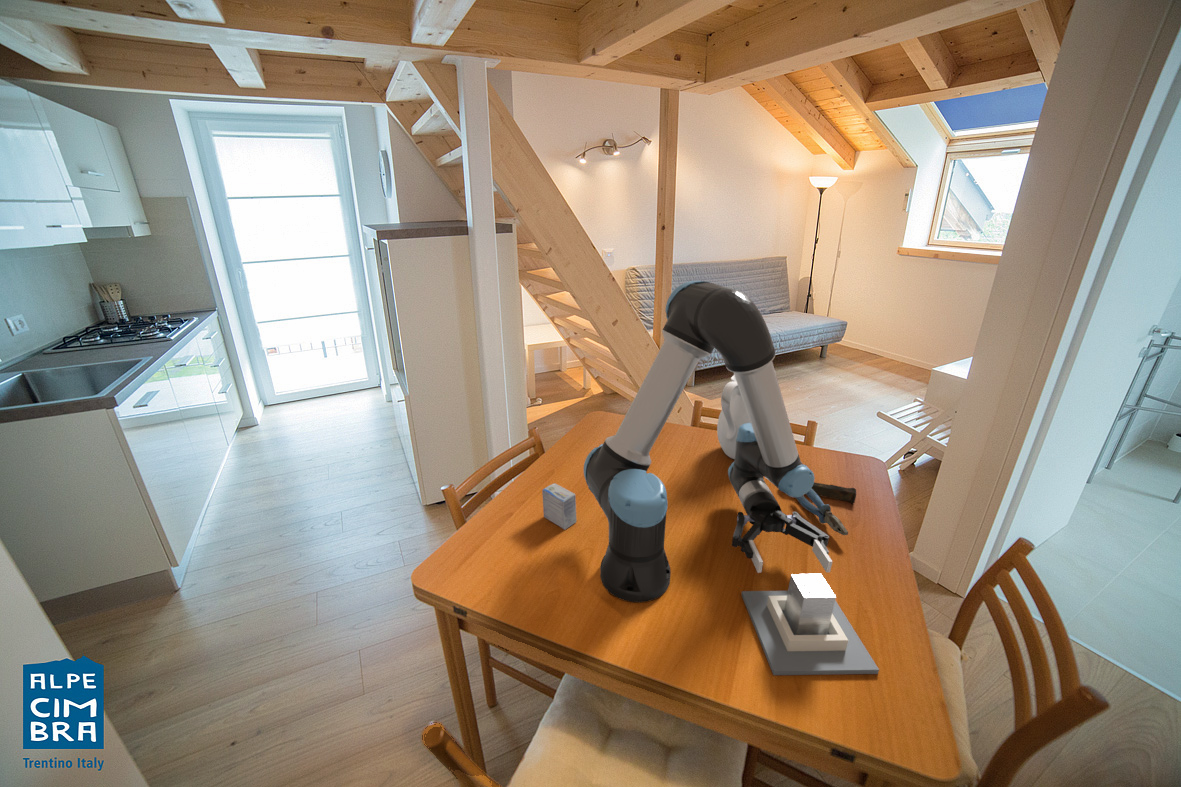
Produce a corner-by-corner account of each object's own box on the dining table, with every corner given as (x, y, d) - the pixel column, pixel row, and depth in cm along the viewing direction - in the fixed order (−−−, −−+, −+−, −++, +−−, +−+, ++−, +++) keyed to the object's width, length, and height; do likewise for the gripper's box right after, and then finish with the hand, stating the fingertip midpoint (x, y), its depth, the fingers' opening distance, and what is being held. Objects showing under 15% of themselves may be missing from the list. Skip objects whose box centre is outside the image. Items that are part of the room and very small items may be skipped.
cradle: (773, 675, 81) (776, 660, 80) (741, 594, 98) (743, 581, 97) (877, 673, 82) (882, 659, 80) (828, 593, 98) (831, 580, 97)
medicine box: (577, 522, 121) (576, 493, 118) (564, 530, 118) (563, 501, 115) (555, 510, 126) (554, 481, 123) (543, 517, 123) (541, 489, 120)
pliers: (847, 544, 112) (852, 524, 110) (839, 545, 112) (843, 525, 110) (800, 496, 131) (803, 478, 129) (792, 497, 130) (796, 479, 128)
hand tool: (853, 498, 130) (856, 483, 129) (854, 506, 127) (858, 491, 125) (779, 484, 137) (782, 470, 136) (779, 491, 134) (781, 477, 132)
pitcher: (733, 436, 165) (742, 359, 154) (779, 453, 153) (792, 372, 143) (691, 460, 150) (698, 377, 139) (739, 481, 138) (750, 392, 128)
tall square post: (795, 639, 87) (804, 596, 83) (783, 615, 92) (791, 573, 88) (825, 639, 87) (836, 596, 83) (812, 614, 92) (821, 573, 88)
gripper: (809, 516, 115) (854, 581, 95) (705, 516, 115) (729, 582, 95) (814, 490, 112) (862, 551, 92) (708, 490, 112) (733, 552, 92)
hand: (794, 567), depth 94 cm, fingers open, 13 cm apart
